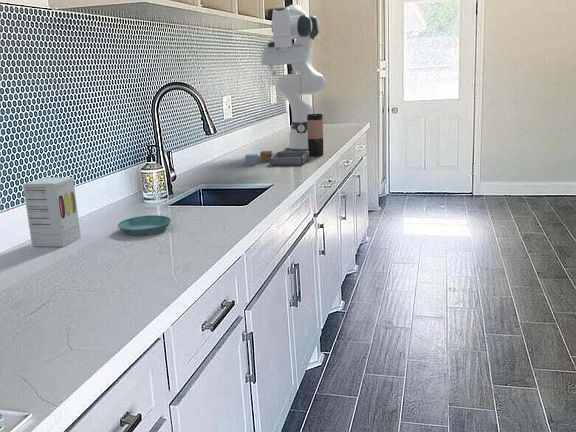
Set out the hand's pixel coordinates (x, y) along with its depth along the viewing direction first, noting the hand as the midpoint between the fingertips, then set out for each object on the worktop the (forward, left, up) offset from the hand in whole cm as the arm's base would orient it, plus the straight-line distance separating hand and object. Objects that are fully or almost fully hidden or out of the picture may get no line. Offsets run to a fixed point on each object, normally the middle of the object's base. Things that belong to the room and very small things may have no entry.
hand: (283, 74), depth 275 cm
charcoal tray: (+13, +3, -39) cm, 42 cm away
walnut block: (+8, -9, -39) cm, 41 cm away
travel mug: (-6, +13, -40) cm, 42 cm away
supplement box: (+140, -40, -40) cm, 151 cm away
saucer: (+128, -20, -40) cm, 136 cm away
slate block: (+18, -14, -39) cm, 46 cm away
